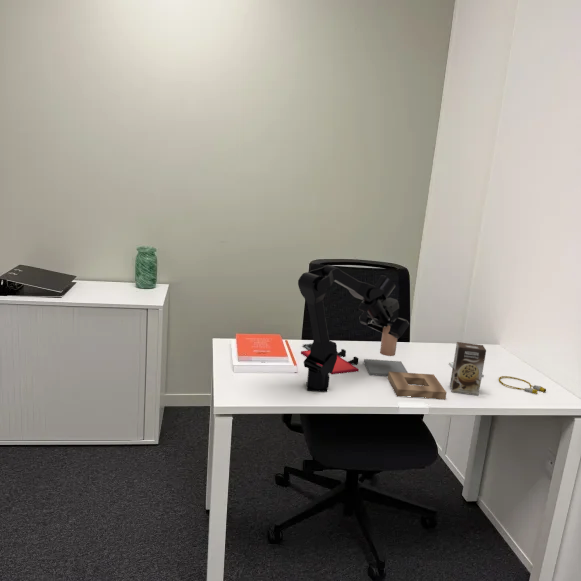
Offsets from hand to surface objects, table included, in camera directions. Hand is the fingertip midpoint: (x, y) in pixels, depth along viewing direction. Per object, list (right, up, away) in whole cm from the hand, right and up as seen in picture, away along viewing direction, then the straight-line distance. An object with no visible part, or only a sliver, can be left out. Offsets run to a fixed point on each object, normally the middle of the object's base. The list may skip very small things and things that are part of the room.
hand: (392, 335), depth 222 cm
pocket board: (+6, -17, -14) cm, 23 cm away
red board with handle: (-23, -10, +9) cm, 26 cm away
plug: (-2, -7, +1) cm, 7 cm away
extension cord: (+45, -18, -3) cm, 48 cm away
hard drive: (+29, -14, +8) cm, 33 cm away
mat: (-2, -12, +2) cm, 13 cm away
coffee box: (+22, -18, -12) cm, 31 cm away
